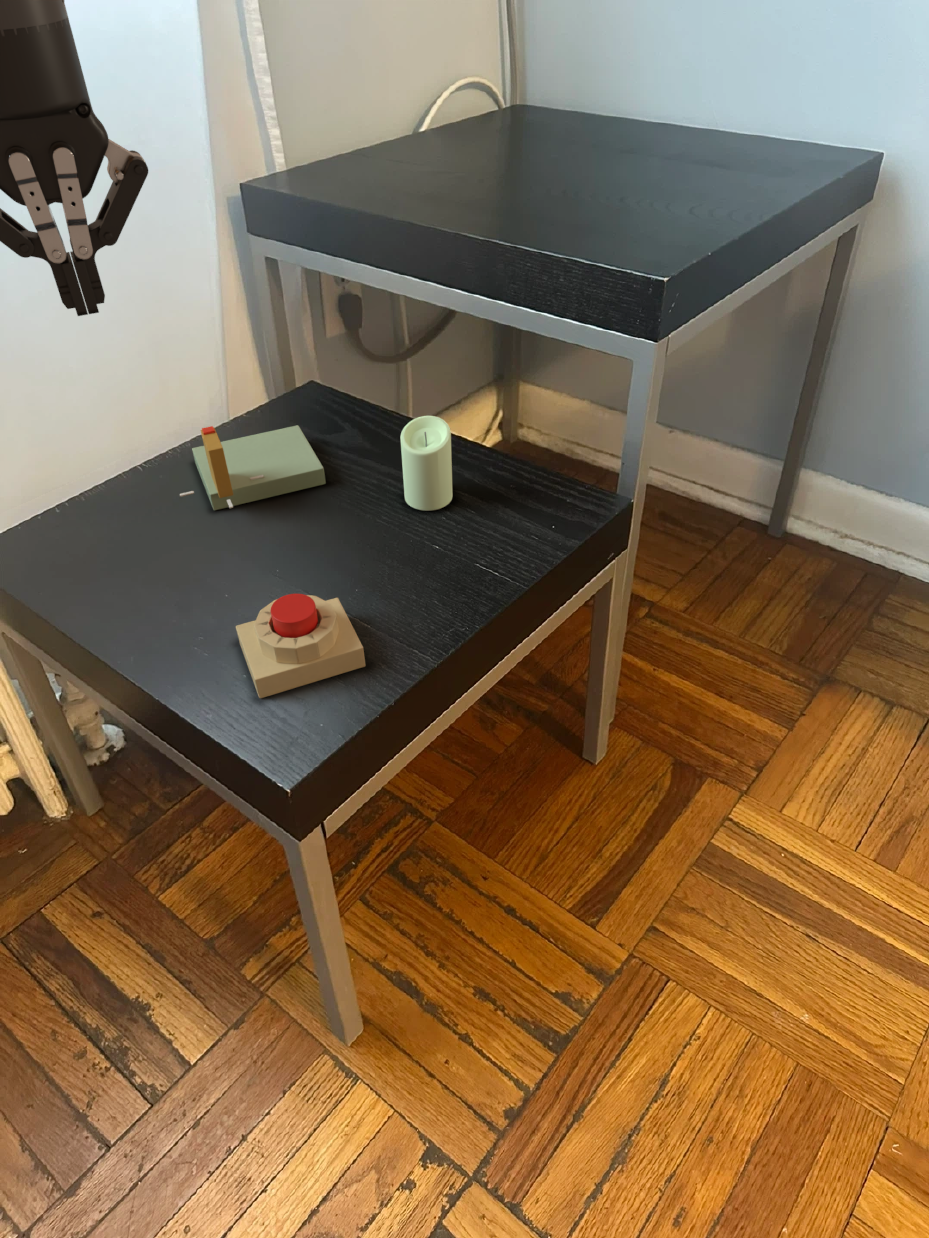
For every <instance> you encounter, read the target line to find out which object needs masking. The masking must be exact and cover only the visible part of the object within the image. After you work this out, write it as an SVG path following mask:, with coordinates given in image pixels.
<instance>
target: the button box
mask: <svg viewBox="0 0 929 1238" xmlns="http://www.w3.org/2000/svg"><path fill="white" fill-rule="evenodd" d="M306 595H307V596H309V597H311V598H312V599H313V600H314V602H315V605H316V611H317V617H318V624H317V627H316V628H315V630H314V631H312V632H311V633H310V634H308V635H305V636H301V637H298V638H285V637H282V636H280V635H279V634H277V633H276V631H275V630H274V626H273V621H272V617H271V611H270V610H271V606H272V604H273V603H274V602H275V601H276V600H277V599H278V598H276V599H274V600H273V601H271V602H270V603H268V604H267V605H266V606H264V607H263V608H262V609H260V610H259V612H258V614H257V617H256V618H255V620H252V621H248V622H244V623H241V624H238V625H235V631H236V634H237V638H238V641H239V645H240V649H241V651H242V654H243V657H244V660H245V662H246V665H247V668H248V671H249V673H250V676H251V679H252V682H253V685H254V687H255V691H256V693H257V696H258V699H264V698H266V697H270V696H273V695H277V694H280V693H283V692H286V691H289V690H293V689H295V688H299V687H302V686H306V685H309V684H313V683H316V682H319V681H322V680H325V679H329V678H331V677H335V676H338V675H341V674H345V673H348V672H351V671H355V670H358V669H361V668H365V667H366V659H365V658H366V657H365V652H364V651H365V649H364V646H363V644H362V642H361V640H360V638H359V636H358V635H357V632H356V630H355V628H354V626H353V625H352V623H351V621H350V618H349V617H348V615H347V612H346V611H345V608H344V607H343V605H342V602H341V601H340V598H339V597H335V598H331V599H326V600H324V599H323V598H321V597H319V596H318V595H311V594H306Z"/></svg>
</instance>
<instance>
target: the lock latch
mask: <svg viewBox="0 0 929 1238" xmlns="http://www.w3.org/2000/svg"><path fill="white" fill-rule="evenodd" d="M200 435H201V437H202V438H201V439H202V444H203V446H204V447H205V451H206V456H207V460H208V464H209V468H210V472H211V476H212V479H213V482H214V484H215V487H216V490H217V492H218V495H219V498H223V497H227V496H232V495H233V491H232V486H231V482H230V477H229V473H228V468H227V464H226V460H225V455H224V451H223V447H222V445H221V442H222V441H221V440H220V437H219V434H218V432H217V430H216V428H215V426H213V425H210V426H206V427H202V428H201V429H200Z"/></svg>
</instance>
